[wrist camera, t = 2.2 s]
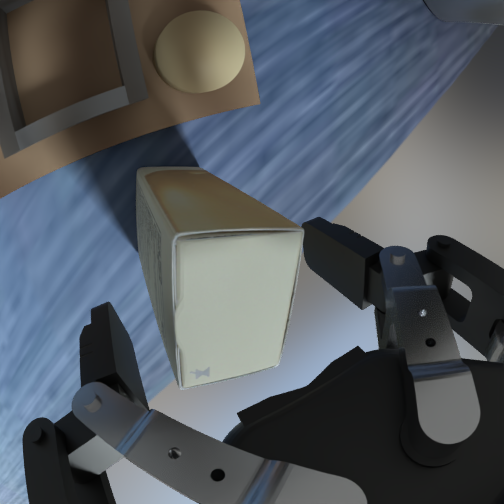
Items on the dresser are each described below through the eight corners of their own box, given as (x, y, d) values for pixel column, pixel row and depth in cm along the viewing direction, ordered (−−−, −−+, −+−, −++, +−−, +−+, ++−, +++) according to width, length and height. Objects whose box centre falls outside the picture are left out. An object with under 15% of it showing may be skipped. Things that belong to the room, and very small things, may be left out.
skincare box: (197, 250, 22) (281, 373, 12) (137, 256, 20) (178, 398, 10) (202, 161, 19) (313, 227, 9) (135, 162, 17) (172, 236, 8)
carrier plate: (220, -47, 13) (242, -70, 10) (252, 103, 19) (280, 104, 16) (-40, 36, 8) (-64, 26, 5) (-4, 198, 14) (-24, 217, 11)
